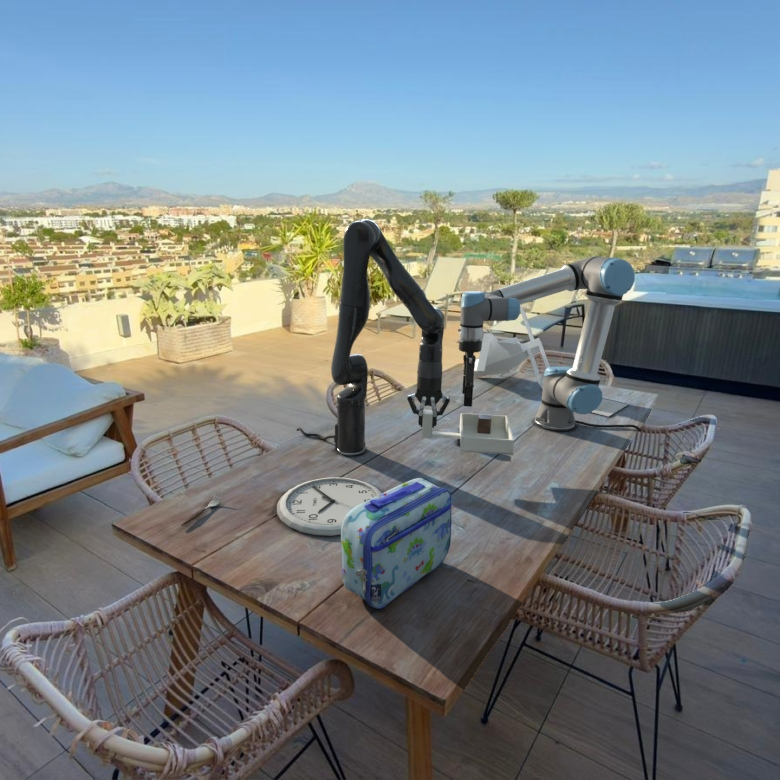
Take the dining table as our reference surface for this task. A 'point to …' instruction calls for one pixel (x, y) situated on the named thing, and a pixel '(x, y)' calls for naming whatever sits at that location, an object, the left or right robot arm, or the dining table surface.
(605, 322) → the right robot arm
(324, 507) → the wall clock
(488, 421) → the walnut block
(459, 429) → the charcoal block
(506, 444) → the tray
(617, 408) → the invitation card
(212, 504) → the fork
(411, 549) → the lunch box
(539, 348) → the white plastic object
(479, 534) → the dining table surface
